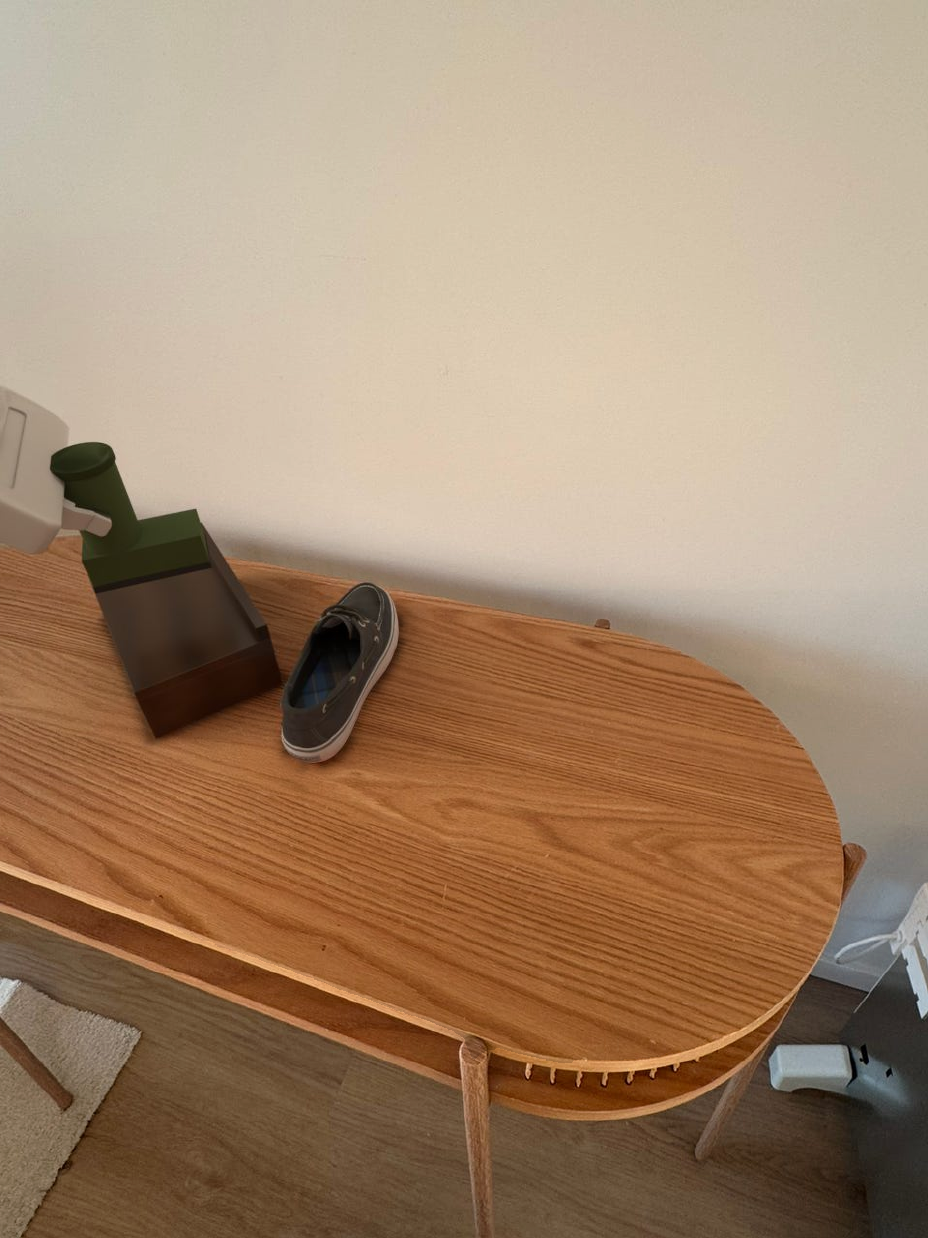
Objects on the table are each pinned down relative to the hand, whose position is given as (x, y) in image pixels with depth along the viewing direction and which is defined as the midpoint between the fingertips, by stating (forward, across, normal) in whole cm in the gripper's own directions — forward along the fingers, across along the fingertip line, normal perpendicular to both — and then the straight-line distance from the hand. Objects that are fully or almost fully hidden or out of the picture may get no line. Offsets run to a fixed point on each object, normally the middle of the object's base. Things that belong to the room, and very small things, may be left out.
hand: (108, 508), depth 69 cm
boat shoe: (+28, -9, +2) cm, 29 cm away
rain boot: (+7, 0, +4) cm, 8 cm away
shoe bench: (+16, +2, +13) cm, 21 cm away
